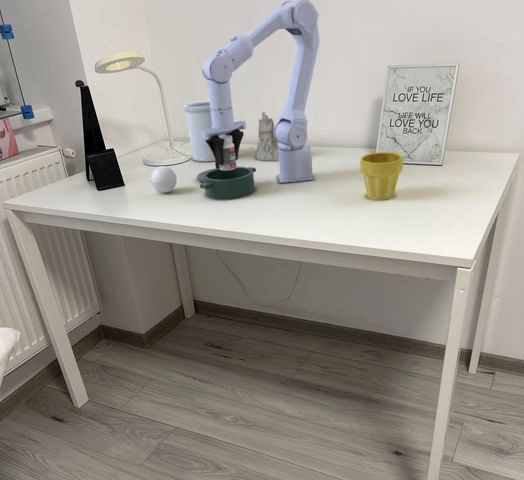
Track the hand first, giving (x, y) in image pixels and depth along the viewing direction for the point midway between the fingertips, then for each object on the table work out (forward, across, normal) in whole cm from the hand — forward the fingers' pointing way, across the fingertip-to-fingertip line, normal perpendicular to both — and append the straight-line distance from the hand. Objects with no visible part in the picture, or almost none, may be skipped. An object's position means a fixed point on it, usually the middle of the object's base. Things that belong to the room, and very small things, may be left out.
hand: (227, 162), depth 148 cm
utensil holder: (+8, -25, -37) cm, 45 cm away
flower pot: (+8, -17, +38) cm, 43 cm away
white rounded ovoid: (+8, +11, -17) cm, 22 cm away
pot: (+8, 0, 0) cm, 8 cm away
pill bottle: (+2, 0, 0) cm, 2 cm away
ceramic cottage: (+8, -38, -16) cm, 42 cm away
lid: (+8, -9, -14) cm, 18 cm away
